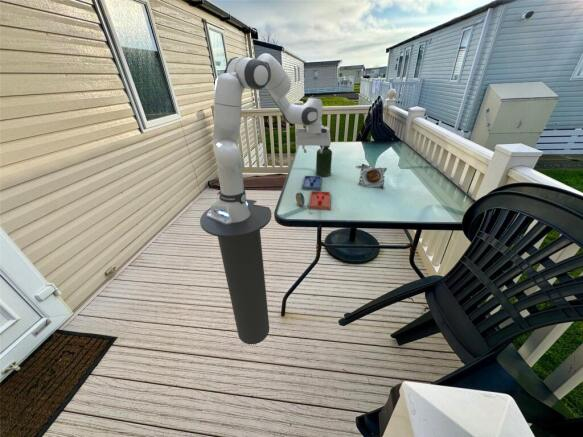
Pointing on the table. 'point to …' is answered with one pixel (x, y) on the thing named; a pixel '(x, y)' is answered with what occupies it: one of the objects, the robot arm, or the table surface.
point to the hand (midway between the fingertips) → (313, 152)
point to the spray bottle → (324, 162)
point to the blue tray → (315, 186)
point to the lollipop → (300, 199)
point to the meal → (372, 176)
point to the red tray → (314, 200)
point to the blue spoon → (312, 180)
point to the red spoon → (320, 198)
